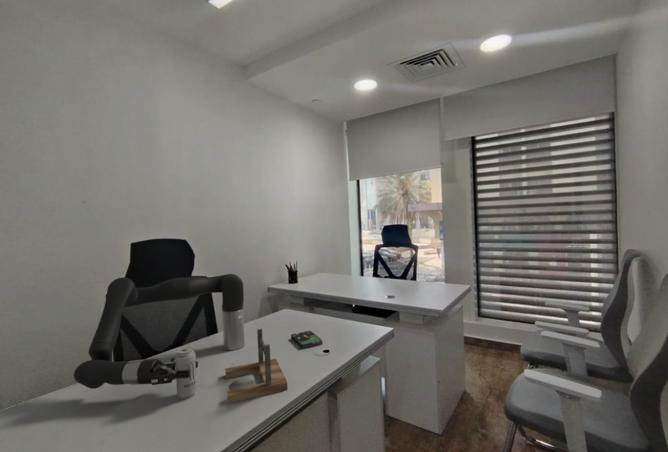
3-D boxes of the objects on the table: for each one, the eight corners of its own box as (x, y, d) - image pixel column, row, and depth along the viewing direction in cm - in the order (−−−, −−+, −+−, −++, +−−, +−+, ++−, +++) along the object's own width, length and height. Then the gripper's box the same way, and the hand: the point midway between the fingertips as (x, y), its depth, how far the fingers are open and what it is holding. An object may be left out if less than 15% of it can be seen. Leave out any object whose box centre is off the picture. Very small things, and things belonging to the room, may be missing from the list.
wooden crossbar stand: (225, 375, 116) (223, 334, 116) (276, 364, 123) (274, 325, 123) (228, 403, 97) (225, 354, 97) (287, 389, 104) (285, 343, 104)
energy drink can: (187, 401, 100) (185, 354, 99) (172, 398, 101) (170, 353, 101) (201, 391, 105) (199, 347, 105) (186, 388, 107) (184, 345, 107)
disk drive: (290, 340, 149) (302, 350, 136) (290, 334, 149) (301, 344, 136) (310, 335, 154) (323, 345, 141) (310, 330, 154) (322, 339, 141)
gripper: (155, 372, 110) (202, 370, 110) (129, 395, 96) (184, 392, 96) (154, 351, 110) (201, 349, 110) (128, 371, 96) (183, 368, 96)
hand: (193, 369), depth 103 cm, fingers closed on energy drink can, 6 cm apart
